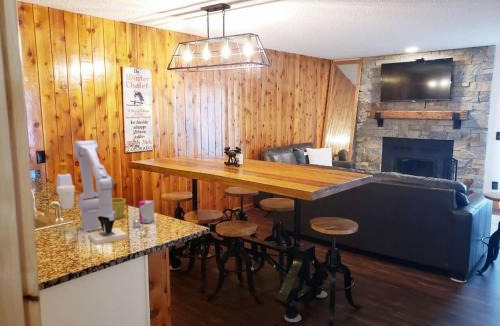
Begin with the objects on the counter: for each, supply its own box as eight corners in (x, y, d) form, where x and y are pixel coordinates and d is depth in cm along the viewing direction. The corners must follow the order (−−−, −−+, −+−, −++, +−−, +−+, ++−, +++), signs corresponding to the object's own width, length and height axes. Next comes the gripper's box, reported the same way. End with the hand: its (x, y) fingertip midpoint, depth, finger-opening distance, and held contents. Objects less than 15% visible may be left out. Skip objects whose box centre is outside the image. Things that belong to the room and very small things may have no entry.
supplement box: (154, 221, 205) (154, 200, 203) (149, 224, 199) (148, 202, 197) (145, 220, 206) (144, 199, 204) (139, 223, 200) (138, 202, 199)
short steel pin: (131, 226, 195) (131, 220, 194) (138, 225, 197) (138, 218, 197) (134, 228, 192) (134, 221, 192) (141, 227, 194) (141, 220, 194)
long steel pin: (102, 237, 178) (101, 221, 177) (110, 235, 181) (109, 219, 180) (106, 239, 176) (106, 222, 175) (114, 237, 179) (113, 220, 178)
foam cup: (69, 210, 225) (68, 188, 223) (55, 209, 226) (53, 188, 224) (79, 206, 234) (77, 185, 232) (65, 205, 235) (63, 184, 234)
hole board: (87, 237, 178) (87, 233, 178) (117, 231, 187) (117, 227, 187) (96, 244, 169) (96, 240, 169) (127, 237, 178) (127, 233, 178)
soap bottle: (69, 190, 276) (66, 160, 273) (74, 194, 266) (72, 162, 262) (54, 192, 270) (52, 161, 267) (59, 196, 260) (57, 163, 256)
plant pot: (130, 216, 213) (129, 199, 212) (116, 221, 204) (115, 203, 203) (116, 213, 218) (115, 197, 217) (102, 218, 209) (101, 201, 207)
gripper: (120, 205, 173) (121, 234, 175) (108, 199, 184) (109, 226, 186) (104, 207, 168) (106, 237, 170) (93, 201, 179) (95, 229, 181)
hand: (107, 232), depth 178 cm, fingers closed on long steel pin, 3 cm apart
